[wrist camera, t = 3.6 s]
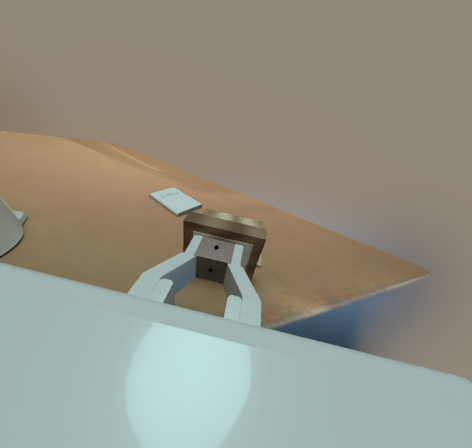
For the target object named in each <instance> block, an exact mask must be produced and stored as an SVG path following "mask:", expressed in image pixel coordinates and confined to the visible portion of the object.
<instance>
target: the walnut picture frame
mask: <svg viewBox="0 0 472 448" xmlns="http://www.w3.org/2000/svg"><path fill="white" fill-rule="evenodd" d="M195 235H199V236H203V237H208V238H211V239H215V240H219V241H224V242H228V243H233V244H238V245H242V246H243V253H242V259H241V265H240V266H241V267H243V269H244V270H245V272H246V274H247V276H248V278H249V280H250V281H251V278H252V276H253V273H254V270H255V268H256V265H257V262H258V260H259V257H260V255H261V252H262V249H263V247H264V244H265V241H266V229H263V228H259V227H255V226H250V225H246V224H242V223H237V222H233V221H229V220H224V219H220V218H216V217H211V216H207V215H203V214H198V213H194V212H189V214H188V215H187V216H186V218H185V219H184V253H185V251H186V249H187V247H188V246H189V244H190V242H191V240H192V239H193V237H194V236H195Z"/></svg>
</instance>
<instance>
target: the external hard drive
mask: <svg viewBox="0 0 472 448" xmlns="http://www.w3.org/2000/svg"><path fill="white" fill-rule="evenodd" d="M150 197H151V198H152V199H153V200H155V201H156V202H158V203H159V204H160V205H162V206H163V207H164V208H166V209H167V210H168V211H170V212H171V213H173V214H174V215H175V216H177V217H179V216H182V215H184V214H187V213H189V212H192V211H194V210H196V209H199V208H201V207H202V204H200V203H199V202H197V201H195V200H194V199H192V198H191V197H189V196H187V195H186V194H184V193H182V192H181V191H179V190H178V189H176V188H169V189H166V190H162V191H158V192H154V193H151V194H150Z"/></svg>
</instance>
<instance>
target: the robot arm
mask: <svg viewBox="0 0 472 448" xmlns="http://www.w3.org/2000/svg"><path fill="white" fill-rule="evenodd" d="M26 219H27V216H26V215H25V214H24V213H23V212H20V211H12V210H11V208H10V207H9V206H8V205H7V204H6V202H5V201H4V200H3V199H2V198H1V196H0V256H1V255H3V254H4V253H6V252H7V251H9V250H10V249H11V248H13V247H14V246H15V245H16V244H17V243H18V242H19V241H20V239H21V238H22V236H23V232H24V231H23V227H22V224H23V223H24V222H25V220H26ZM242 253H243V246H242V245H238V244H233V243H228V242H224V241H219V240H215V239H211V238H208V237H203V236H199V235H195V236H194V237H193V239H192V240H191V242H190V244H189V246H188V247H187V249H186V251H185V253H180V254H178V255H176V256H174V257H172V258H170V259H168V260H166V261H164V262H162V263H161V264H159V265H157V266H155V267H153V268H151V269H149V270H147V271H145V272H143V273H142V275H141V276H140V277H139V279H138V280H137V281H136V283H135V284H134V285H133V287H132V288H131V289H130V291H129V292H128V293H127V294H126V293H122V292H118V291H114V290H110V289H106V288H102V287H98V286H94V285H90V284H85V283H81V282H77V281H73V280H69V279H65V278H61V277H57V276H53V275H49V274H45V273H41V272H37V271H33V270H29V269H25V268H21V267H17V266H13V265H9V264H5V263H1V262H0V448H472V382H471V381H469V380H467V379H465V378H463V377H460V376H457V375H454V374H450V373H446V372H441V371H437V370H433V369H429V368H425V367H421V366H417V365H413V364H409V363H405V362H401V361H397V360H393V359H389V358H385V357H380V356H376V355H372V354H368V353H364V352H360V351H356V350H352V349H348V348H344V347H340V346H336V345H332V344H327V343H324V342H319V341H315V340H311V339H308V338H303V337H299V336H295V335H291V334H287V333H283V332H279V331H275V330H271V329H267V328H263V327H260V323H261V300H260V298H259V297H258V295H257V293H256V291H255V289H254V287H253V285H252V283H251V282H250V280H249V278H248V276H247V274H246V272H245V270H244V269H243V267H241V266H240V265H241V259H242ZM195 277H197V278H201V279H206V280H210V281H214V282H218V283H221V284H223V286H224V289H225V292H226V295H227V298H228V299H227V303H226V307H225V311H224V314H223V317H219V316H215V315H211V314H207V313H202V312H198V311H194V310H190V309H186V308H182V307H178V306H175V302H174V295H175V294H176V293H178V292H179V291H180V290H181V289H182V288H184V287H185V286H186V285H187V284H189V283H190V282H191V281H192V280H194V279H195Z"/></svg>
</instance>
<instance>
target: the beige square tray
mask: <svg viewBox="0 0 472 448" xmlns="http://www.w3.org/2000/svg"><path fill="white" fill-rule="evenodd" d="M203 215H207V216H211V217H216V218H220V219H224V220H229V221H233V222H237V223H242V224H246V225H250V226H255V227H259V228H262V222H261V221H256V220H252V219H248V218H243V217H239V216H235V215H230V214H226V213H222V212H217V211H213V210H209V209H205V211H204V213H203ZM183 249H184V247H183ZM256 266H257V267H261V255H260V257H259V260H258V262H257V265H256Z"/></svg>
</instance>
